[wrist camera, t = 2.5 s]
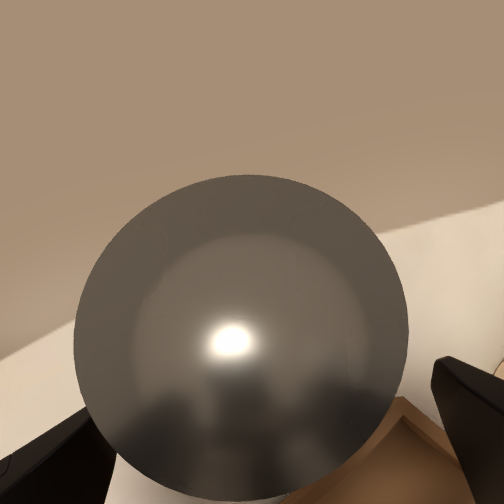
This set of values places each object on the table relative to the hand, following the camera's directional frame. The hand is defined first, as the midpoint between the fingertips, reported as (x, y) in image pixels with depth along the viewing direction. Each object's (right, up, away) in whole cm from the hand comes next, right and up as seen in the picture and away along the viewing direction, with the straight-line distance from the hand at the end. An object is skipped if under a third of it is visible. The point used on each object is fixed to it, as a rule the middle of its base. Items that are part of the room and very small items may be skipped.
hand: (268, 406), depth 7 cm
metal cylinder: (+1, -3, +8) cm, 9 cm away
